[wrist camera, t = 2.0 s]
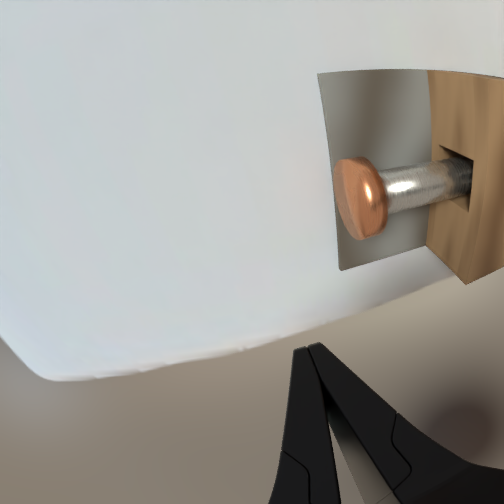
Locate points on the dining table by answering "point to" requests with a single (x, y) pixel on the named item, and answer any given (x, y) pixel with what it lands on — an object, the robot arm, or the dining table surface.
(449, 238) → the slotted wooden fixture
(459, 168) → the pin
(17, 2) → the dining table surface
